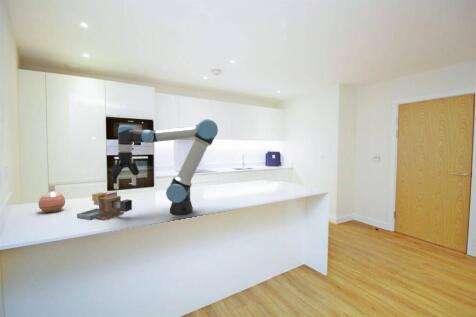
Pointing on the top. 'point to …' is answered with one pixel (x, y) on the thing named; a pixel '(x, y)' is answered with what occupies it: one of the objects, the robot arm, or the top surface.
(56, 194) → the vase
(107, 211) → the bearing block
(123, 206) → the shaft
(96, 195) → the spacer
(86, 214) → the tray
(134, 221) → the top surface
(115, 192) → the box
